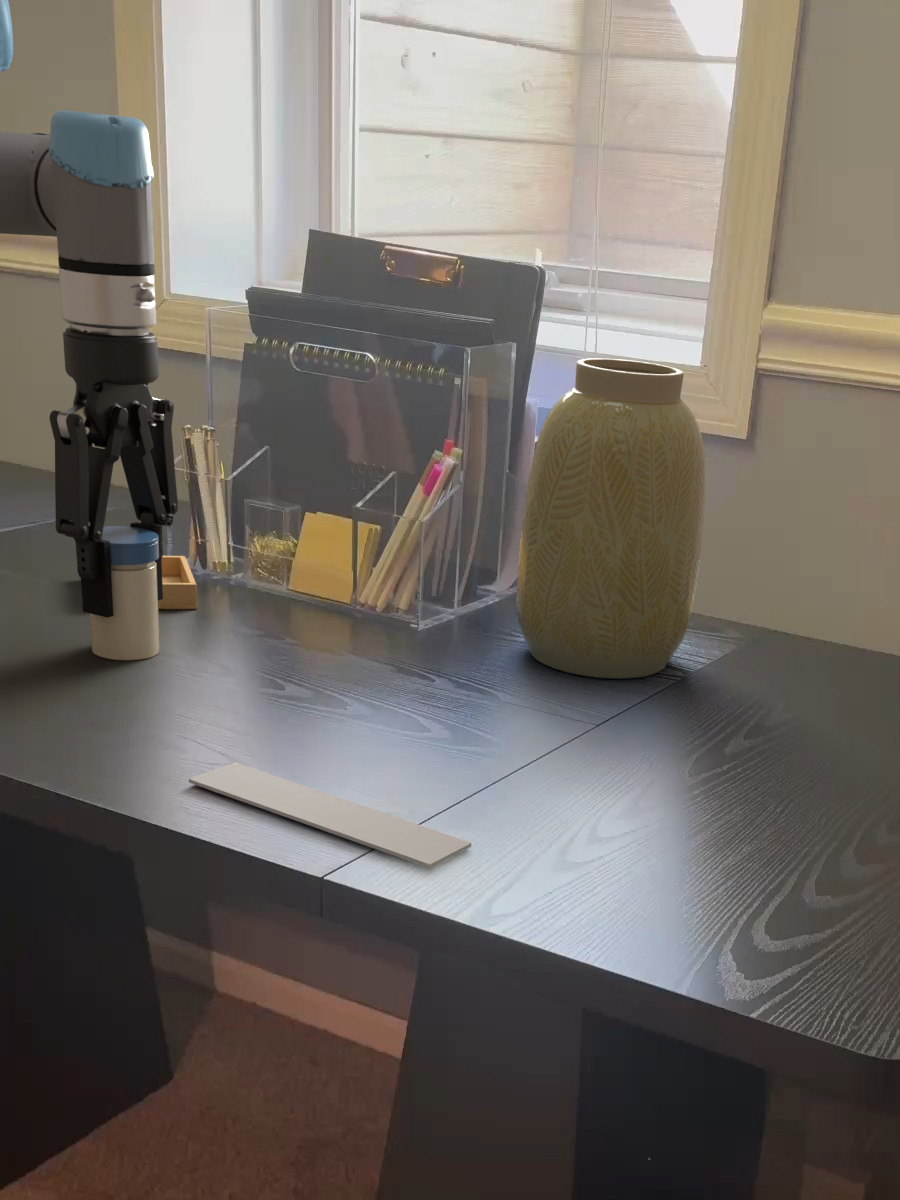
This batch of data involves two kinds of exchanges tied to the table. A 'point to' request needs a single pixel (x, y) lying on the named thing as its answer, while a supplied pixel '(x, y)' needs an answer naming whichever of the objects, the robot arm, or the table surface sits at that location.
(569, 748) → the table surface
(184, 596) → the tray
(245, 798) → the nameplate
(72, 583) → the table surface
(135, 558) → the lid
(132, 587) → the jar
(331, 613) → the table surface
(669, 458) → the vase
